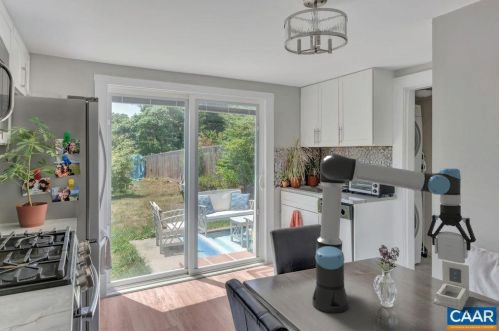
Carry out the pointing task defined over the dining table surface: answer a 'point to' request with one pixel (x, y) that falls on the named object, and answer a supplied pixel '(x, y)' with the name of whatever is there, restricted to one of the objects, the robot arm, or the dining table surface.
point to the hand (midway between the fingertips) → (450, 255)
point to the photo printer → (450, 246)
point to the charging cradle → (453, 285)
